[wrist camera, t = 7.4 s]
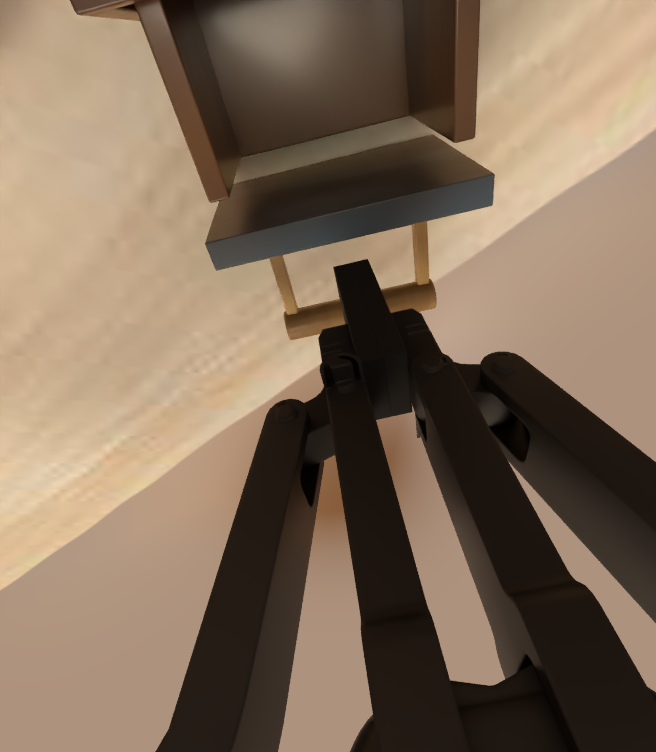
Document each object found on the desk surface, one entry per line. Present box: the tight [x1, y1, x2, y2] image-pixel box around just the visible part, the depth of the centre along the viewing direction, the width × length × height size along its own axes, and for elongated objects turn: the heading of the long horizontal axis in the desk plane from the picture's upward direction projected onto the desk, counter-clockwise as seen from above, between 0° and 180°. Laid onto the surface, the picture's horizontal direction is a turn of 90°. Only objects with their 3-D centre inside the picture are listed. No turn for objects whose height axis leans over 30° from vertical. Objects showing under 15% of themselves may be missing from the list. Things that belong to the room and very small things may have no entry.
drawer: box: [134, 0, 495, 340], centre depth 17 cm, size 20×11×8 cm, turn 11°
